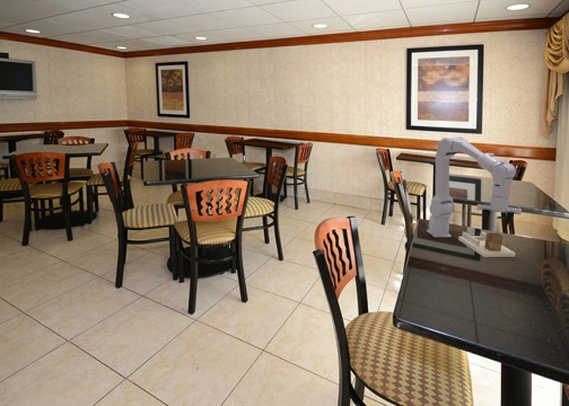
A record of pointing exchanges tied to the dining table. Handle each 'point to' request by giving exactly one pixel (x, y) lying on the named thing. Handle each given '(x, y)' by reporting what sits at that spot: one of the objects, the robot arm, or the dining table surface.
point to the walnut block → (493, 241)
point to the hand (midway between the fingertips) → (495, 229)
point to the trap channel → (479, 246)
